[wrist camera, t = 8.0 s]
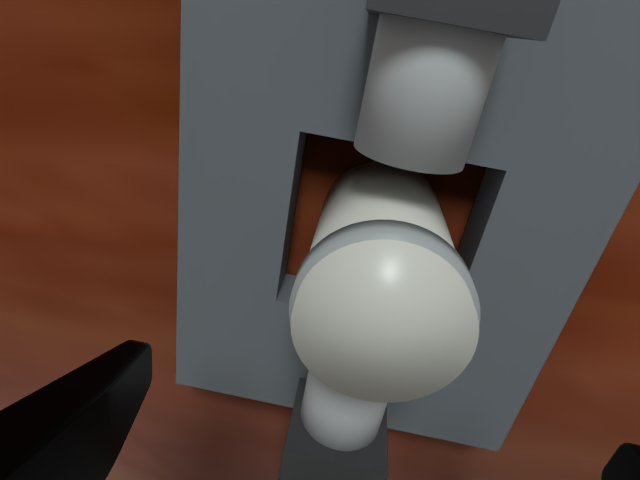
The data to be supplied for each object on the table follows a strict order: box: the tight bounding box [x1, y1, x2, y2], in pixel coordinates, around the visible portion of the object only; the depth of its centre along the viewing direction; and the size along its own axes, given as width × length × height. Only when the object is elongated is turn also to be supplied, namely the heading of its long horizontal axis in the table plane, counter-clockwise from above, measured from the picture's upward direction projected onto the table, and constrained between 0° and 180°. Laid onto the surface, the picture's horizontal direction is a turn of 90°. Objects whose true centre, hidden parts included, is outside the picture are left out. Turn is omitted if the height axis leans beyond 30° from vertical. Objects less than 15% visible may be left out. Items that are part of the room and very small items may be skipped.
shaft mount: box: [176, 0, 640, 480], centre depth 14 cm, size 17×14×6 cm
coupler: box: [289, 161, 480, 403], centre depth 13 cm, size 5×5×7 cm
